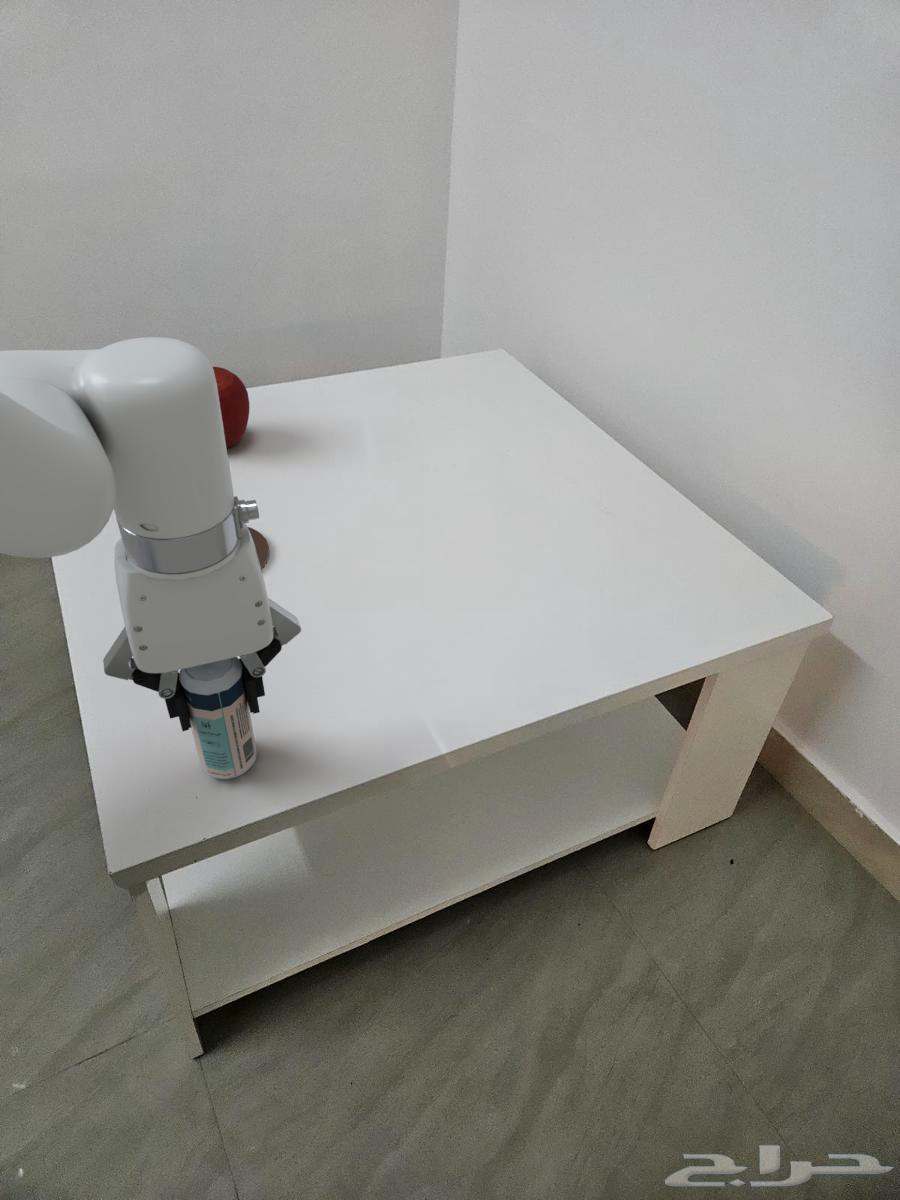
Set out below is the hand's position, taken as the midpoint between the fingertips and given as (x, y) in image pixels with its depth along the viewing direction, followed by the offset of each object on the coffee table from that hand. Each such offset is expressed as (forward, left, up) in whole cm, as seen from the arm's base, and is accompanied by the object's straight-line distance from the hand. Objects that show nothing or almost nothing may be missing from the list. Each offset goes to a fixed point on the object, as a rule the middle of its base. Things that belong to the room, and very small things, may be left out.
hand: (218, 707), depth 67 cm
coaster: (+4, +29, -7) cm, 30 cm away
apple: (+8, +54, -7) cm, 55 cm away
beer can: (0, 0, -7) cm, 7 cm away
